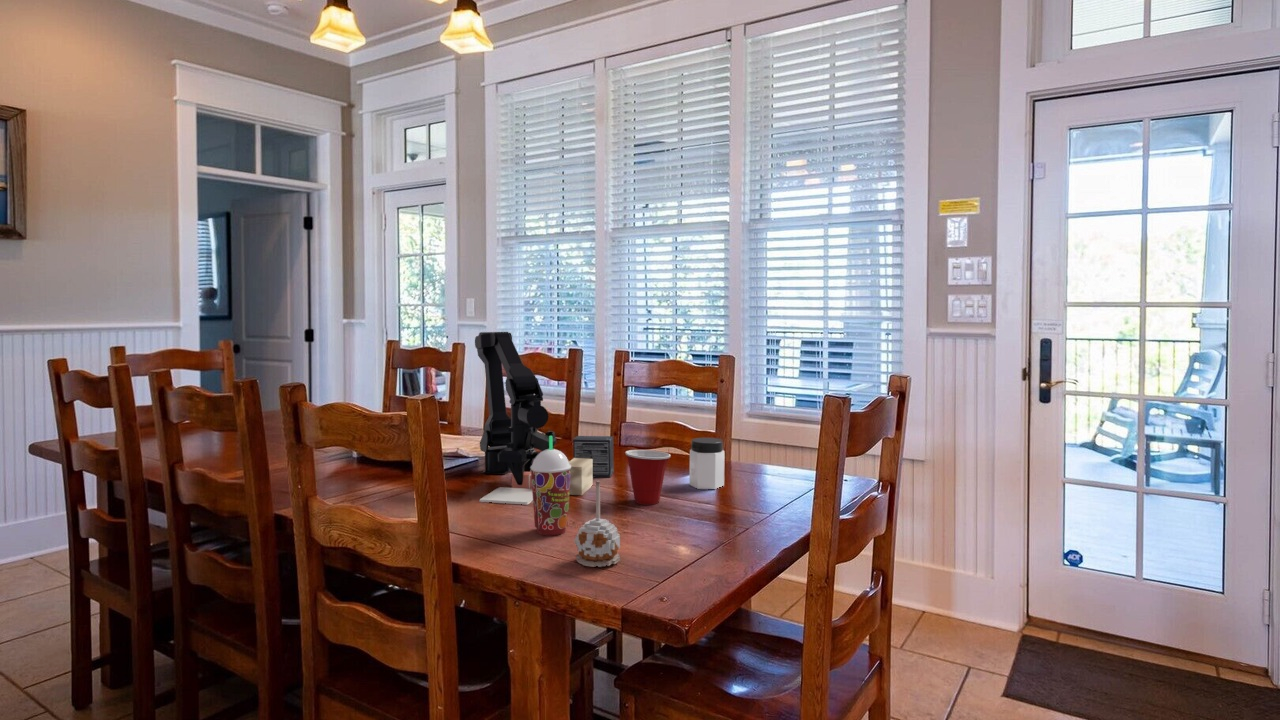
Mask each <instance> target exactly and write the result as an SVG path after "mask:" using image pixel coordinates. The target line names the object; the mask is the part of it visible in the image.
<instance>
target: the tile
mask: <svg viewBox="0 0 1280 720" xmlns="http://www.w3.org/2000/svg"><path fill="white" fill-rule="evenodd" d="M489 502H492V503H493V504H505V503H506V504H505V505H507V504H508V505H509V504H510V505H521V504H522V505H525V506H528V505H529V504H530V503H533V493H532V489H523V488H512V487H503V486H502V487H501V486H500V487H498V488H497V487H496V489H494V490H493V491H492V490H491V492H490V493H488V494H486V495H484V496H483V497H482V498H481V497H480V498H479V503H489ZM492 503H491V504H492ZM522 505H521V506H522Z"/></svg>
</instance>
